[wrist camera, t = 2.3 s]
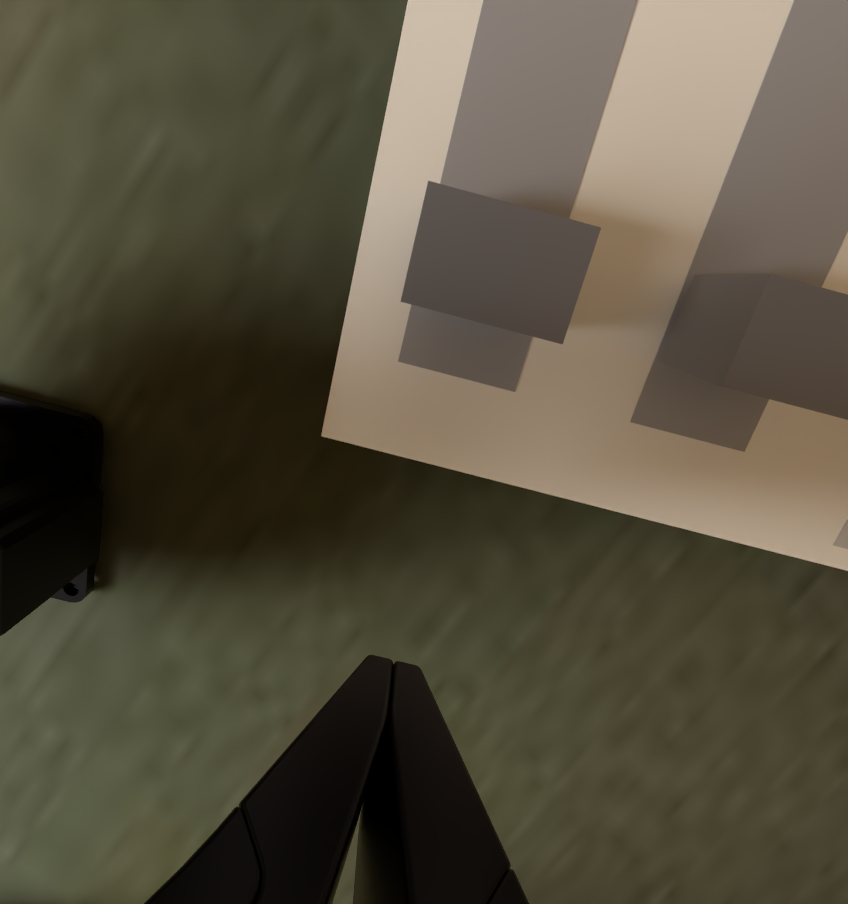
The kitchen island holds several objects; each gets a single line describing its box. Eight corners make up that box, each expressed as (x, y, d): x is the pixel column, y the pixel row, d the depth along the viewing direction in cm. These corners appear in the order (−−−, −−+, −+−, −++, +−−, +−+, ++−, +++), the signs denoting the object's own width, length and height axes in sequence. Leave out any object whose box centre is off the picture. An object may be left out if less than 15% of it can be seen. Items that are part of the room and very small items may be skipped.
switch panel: (336, 417, 16) (320, 436, 14) (463, -194, 11) (465, -291, 10) (909, 564, 16) (970, 602, 14) (1235, 33, 12) (1386, -15, 10)
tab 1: (412, 296, 12) (400, 301, 9) (434, 204, 12) (428, 180, 9) (536, 329, 12) (562, 344, 10) (565, 240, 12) (601, 227, 9)
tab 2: (660, 362, 13) (721, 386, 10) (694, 275, 12) (770, 273, 9) (781, 394, 13) (877, 427, 10) (822, 309, 12) (936, 319, 9)
